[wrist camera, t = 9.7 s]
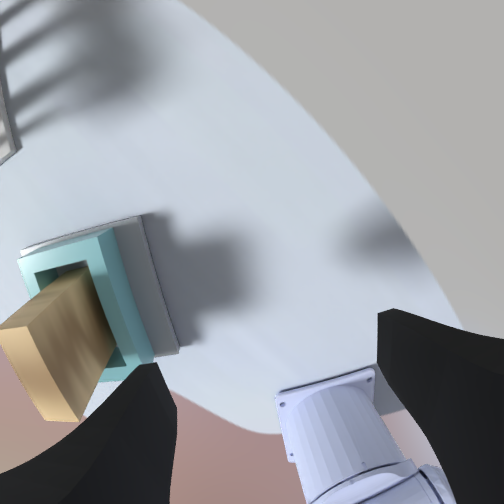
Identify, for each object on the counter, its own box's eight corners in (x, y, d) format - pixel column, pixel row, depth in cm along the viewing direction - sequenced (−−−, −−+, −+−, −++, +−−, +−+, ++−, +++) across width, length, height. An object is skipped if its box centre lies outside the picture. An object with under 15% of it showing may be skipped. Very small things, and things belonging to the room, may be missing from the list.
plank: (120, 336, 18) (79, 421, 11) (93, 340, 18) (45, 420, 10) (94, 264, 17) (26, 326, 9) (66, 270, 17) (-6, 330, 9)
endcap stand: (179, 347, 20) (174, 377, 17) (70, 361, 19) (54, 386, 16) (140, 215, 17) (124, 225, 14) (26, 247, 17) (-1, 261, 14)
